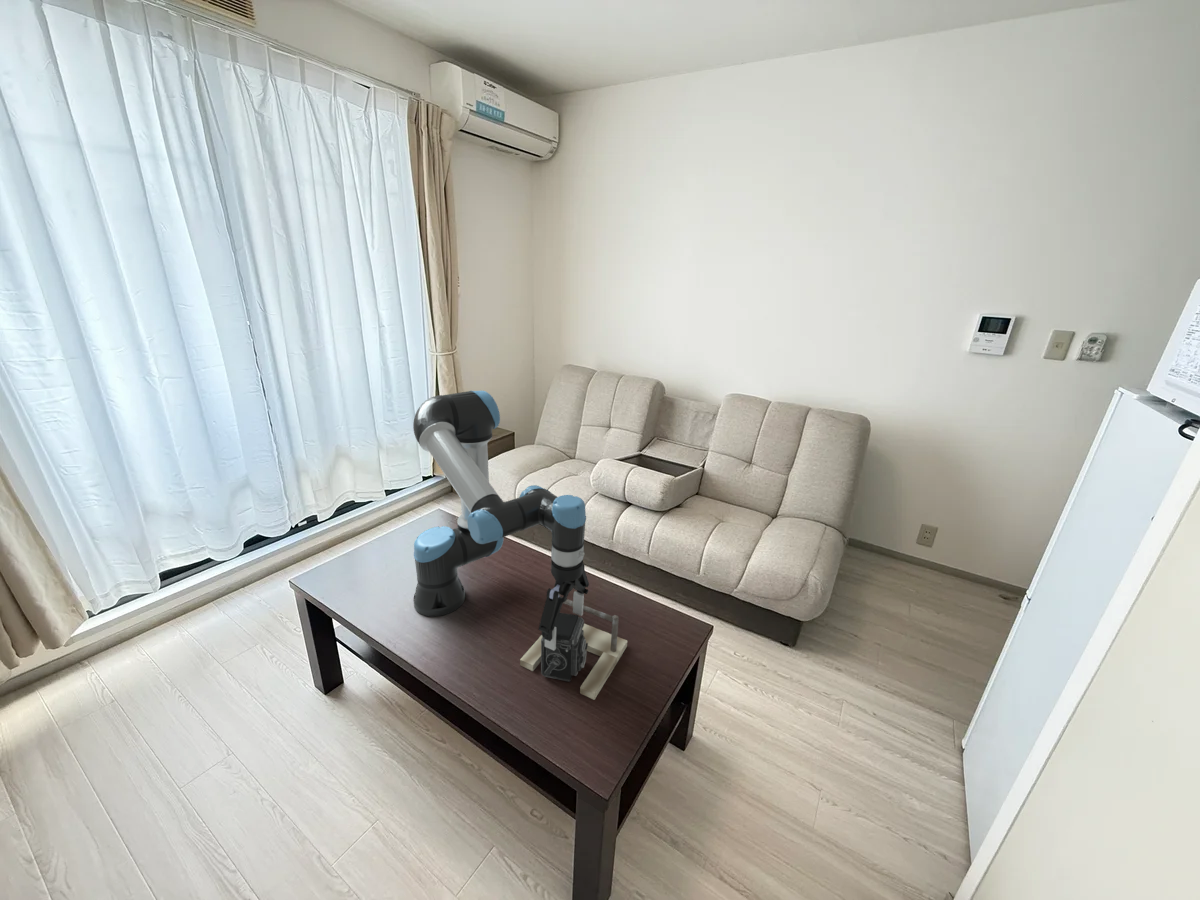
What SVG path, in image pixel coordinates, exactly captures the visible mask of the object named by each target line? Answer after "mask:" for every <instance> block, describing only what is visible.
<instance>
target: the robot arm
mask: <svg viewBox="0 0 1200 900" xmlns="http://www.w3.org/2000/svg"><path fill="white" fill-rule="evenodd" d="M413 418H414V419H413V422H412V423H413V428H412V429H413V433H414V437H415V439H416V441H417V442H418V444H419V446H420V447H421V449H422V450H424V451H426V452H429V453H430V455H431V456H432V458H433V459H434V461H435V462H436V464H437V466H438V467H439V468H440V470H441V471H442V473H443V474H444V476H445V477H446V478H447V481H448V482H449V483H450V485H451V486H452V487H453V489H454V490H455V492H456V494H457V496H459V498H460V506H461V507H460V508H461V514H460V515H459V516H458V518H457V520H456V522H457V523H456V525H457V527H455V528H451V527H449V526H446V525H442V526H434V527H431V528H428V529H426V530H424V531H422V532H421V533H420V534H418V536H416V539H415V540H414V542H413V543H414V544H413V559H414V562H415V570H416V572H415V573H416V581H417V583H416V587H415V592H414V594H413V595H414V596H413V606H414V609H415V611H416V612H417V613H419V614H420V615H422V616H425V617H426V616H427V617H440V616H445V615H448V614H451V613H453V612H455V611H456V610H458V609H459V608H460V607H461V606H462V605H463V604H464V602H465V599H466V590H465V587H464V585H463V582H462V581H461V579H460V577H459V575H458V568H460V567H463V566H465V565H468V564H471V563H472V562H476V561H478V560H480V559H484V558H487V557H490V556H491V555H493V554H495V553H497V552H499V550H500V549H501V548H502V546H503V543H504V538H506V537H509V536H510V535H513V534H516V533H518V532H520V531H525V530H527V529H530V528H533V527H535V526H538V525H541V526H542V527H544V528H545V529H547V530H549V531H550V532H551V555H550V557H551V558H550V559H551V562H550V564H551V565H550V573H551V575H552V577H553V579H554V580H555V583H554V587H553V588H549V587H548V589H547V591H546V598H545V602H544V606H543V610H542V614H541V617H540V620H539V621H540V622H539V626H538V630H539V631H540V632H542V631H543V632H545V637H544V638H545V647H547V648H549V649H551V650H553V651H554V650H555V649H556V627H555V624H556V621H557V619H558V616H559V613H561V610H562V608H563V604H564V603H563V602H565V601H566V599H567V598H568V596H569V593H570V592H572V591H573V590H574V592H573V598H572V599H573V600H572V601H573V607H572V614H574V615H578V616H579V617H582V616H583V615H584V611H583V605H585V604H584V601H585V595H588V593H589V589H587V588H588V587H589V586H590V583H589V579H588V576H587V574H586V573H587V572H586V569H585V563H584V560H583V559H584V556H585V551H584V548H585V547H584V546H585V545H584V544H585V535H586V534H585V533H586V532H585V531H586V521H587V513H586V503H585V501H584V500H583V498H581V497H579V496H578V495H577V496H575V495H572V494H563V495H559V496H557V495H555V494H553V493H552V492H551V491H550V490H548V489H547V488H543V487H541V486H539V485H537V484H535V485H534V484H533V485H529V486H527V487H526V488H525V489H524V490H522V491H521V493H520V495H519V497H516V498H514V499H511V500H506V501H503V500H502V498H501V497H500V495H499V494H498V493H497V491H496V490H495V488H494V487H493V486H492V485H491V483H490V477H489V475H490V474H489V452H488V451H489V449H488V448H489V447H488V443H489V442H490V441H491V440H492V438H493V430H496V428H498V427H499V425H500V422H501V414H500V409H499V407H498V404H497V402H496V401H495V399H494V397H493V396H492V394H490V393H489V392H487V391H485V390H468V391H463V392H462V391H461V392H456V393H449V394H443V395H442V394H441V395H440V394H439V395H435V396H431V397H430V398H428V399H426V400H425V401H424V402H422V403H421V404H420V406H419V407H418V408H417V410H416V413H415V414H414V417H413ZM559 594H560V597H559ZM562 597H563V598H562Z"/></svg>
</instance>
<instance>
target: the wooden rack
mask: <svg viewBox="0 0 1200 900" xmlns="http://www.w3.org/2000/svg"><path fill="white" fill-rule="evenodd" d="M559 597H562V598H563V596H561V595H560V594H559ZM563 604H564V605H567V606H569V607H572V608H573V600H571V599H569V598H568V599H566V601H565V602H563ZM583 612H585V613H587V614H590V615H592V616H596V617H598V618H600V619H603V620H606V621H609V622H612V623H611V633H609V632H608V631H604V630H602V629H600V628H597V627H594V626H592V625H589V624H586V623H584V626H583V629H582V630H584V635H583V636H584V637H585V639H586V643H588V647H587V650H585V651H587V653H588V652H589V653H591V654H593V655H596V656H597V657H599V658H598V660H597V662H596V663H595V664H594V665H593V667H592V669H591V671H590V672H589V674H588V675H587V676H586V678H585V679H584V681H583V682H582V684H581V685H580V687H579V688H580V689H579V693H580V695H583V696H585V697H587V698H589V699H591V700H594V701H595V700H596V698H597V696H598V695H599V694H600V692H601V690H602V689H603V687H604V685H605V684H606V681H607V680H608V678H609V677H610V676H611V673H612V672H613V670H614V669H615V667H616V665H617V664H618V662H619V660H620V659H621V657H622V656H623V653H625V650H626V649H627V647H628V640H627V639H624V638H621V637H620V636H618V633H619V632H618V631H619V615H617V614H614V615H610V614H609V613H605V612H603V611H600V610H597V609H594V608H592V607H590V606H587V605H585V604H583ZM542 637H543V636H542V634H541V635H540V636H539V637H538V639H537V640H536V641H535V642H534V643H533V645H531V646H530V647H529V648H528V650H527V651H526V652H525V653H524V654H523V656H522V657H521V658H520V659H519V666H520V667H523V668H525V669H527V670H528V671H529V670H530V671H531V672H534V671H535V669H536V668H537V667H538V666H539V665H540V664H541V639H542Z"/></svg>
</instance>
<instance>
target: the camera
mask: <svg viewBox="0 0 1200 900" xmlns="http://www.w3.org/2000/svg"><path fill="white" fill-rule="evenodd" d="M584 624H585V619H583V617H582V616H580V615H578V614H573V613H565V612H560V613H559V616H558V619H557V621H556V624H555V627H556V649H555V650H554V651H553V650H551V649H549V648H547V647H545V638H544V637H545V632H543V631H541V635H542V636H543V637H542V639H541V662H540V674H541V675H542V676H543V677H545V678H551V679H556V680H559V681H564V682H569V683H571V681H572V678H573V676H575V677H577V675H578V673H579V672H580V671H582V669H584V668H585V664H586V661H587V653H588V651H586V650H587V647H588V643H586V639H585V637H584V636H583V635H584V630H582V629H583V626H584Z"/></svg>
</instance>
